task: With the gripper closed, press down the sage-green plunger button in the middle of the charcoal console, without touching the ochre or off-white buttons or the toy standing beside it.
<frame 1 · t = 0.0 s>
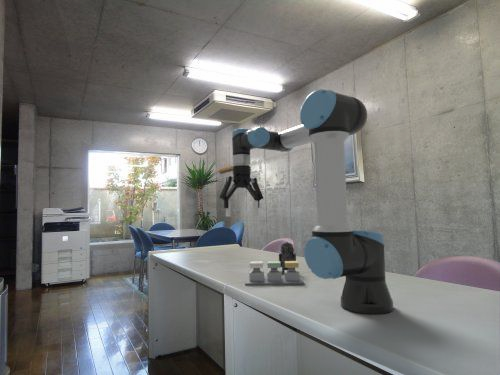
hand: (242, 216, 134), 28 cm above the counter, fingers open, 13 cm apart
button ochre: (291, 267, 138), point 6 cm above the counter, slide at 0.0 cm
button white: (256, 268, 139), point 5 cm above the counter, slide at 0.0 cm
console: (274, 281, 138), on the counter
button green: (274, 268, 138), point 5 cm above the counter, slide at 0.0 cm
toy: (287, 273, 155), on the counter
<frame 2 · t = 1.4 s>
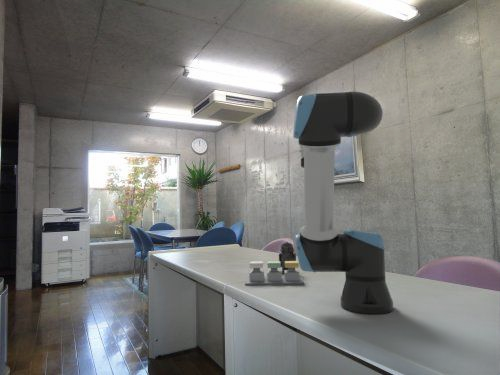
hand: (311, 207, 134), 31 cm above the counter, fingers open, 13 cm apart
nothing on the counter moved.
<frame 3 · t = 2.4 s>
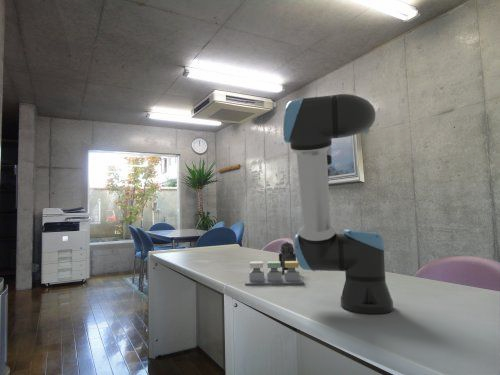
hand: (324, 211, 134), 29 cm above the counter, fingers closed
nothing on the counter moved.
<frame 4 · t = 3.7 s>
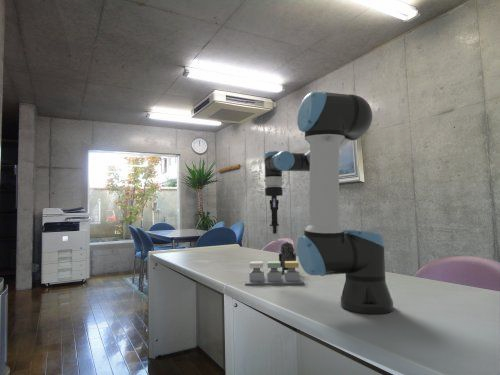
hand: (274, 241, 139), 17 cm above the counter, fingers closed
nothing on the counter moved.
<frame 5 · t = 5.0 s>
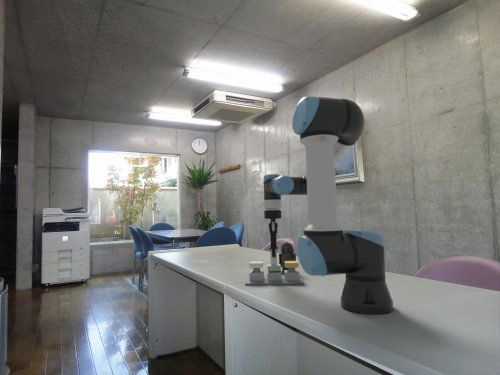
hand: (273, 264, 138), 7 cm above the counter, fingers closed
button green: (274, 271, 138), point 4 cm above the counter, slide at 1.3 cm, touching gripper
everything else where it was.
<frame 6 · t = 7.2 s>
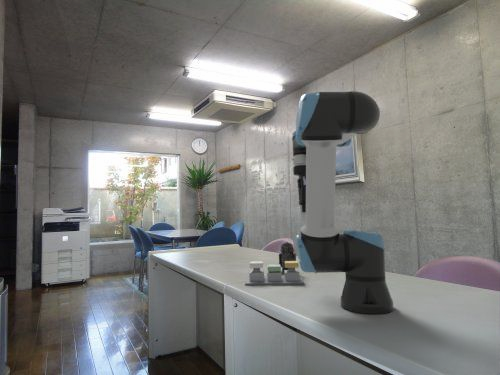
hand: (303, 220, 137), 26 cm above the counter, fingers closed
button green: (274, 271, 138), point 4 cm above the counter, slide at 1.5 cm
everything else where it was.
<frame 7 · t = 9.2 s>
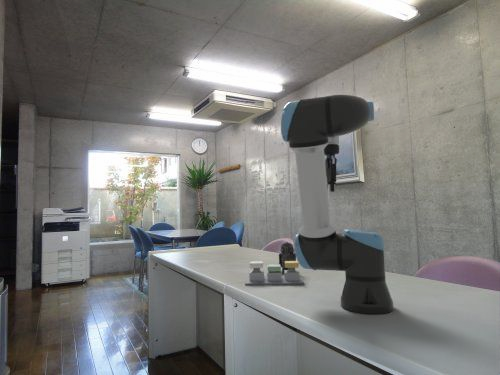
hand: (332, 199, 137), 34 cm above the counter, fingers closed
nothing on the counter moved.
at the end: button green slide at 1.5 cm; button ochre slide at 0.0 cm; button white slide at 0.0 cm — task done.
